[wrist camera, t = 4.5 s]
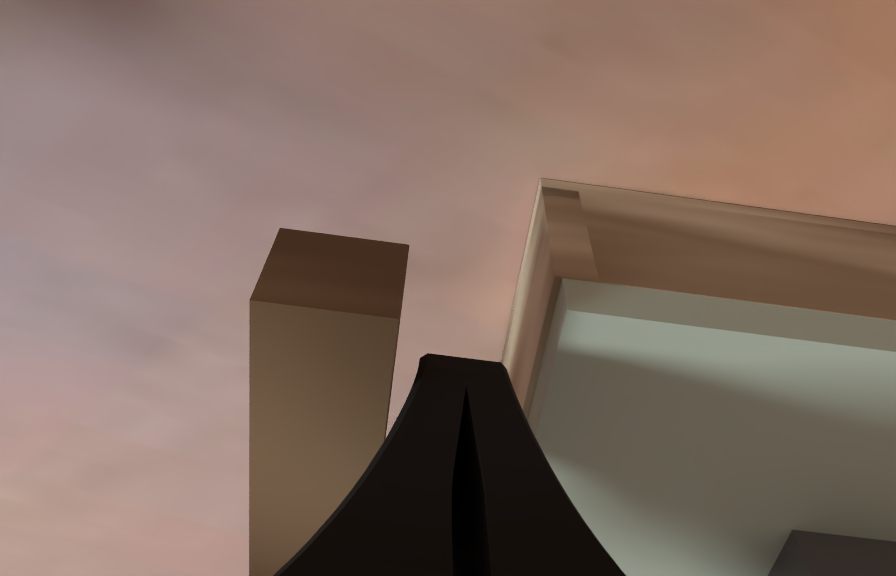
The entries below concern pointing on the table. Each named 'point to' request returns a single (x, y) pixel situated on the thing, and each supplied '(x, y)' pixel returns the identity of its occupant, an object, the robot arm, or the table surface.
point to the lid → (722, 432)
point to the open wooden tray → (690, 259)
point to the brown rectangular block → (317, 381)
